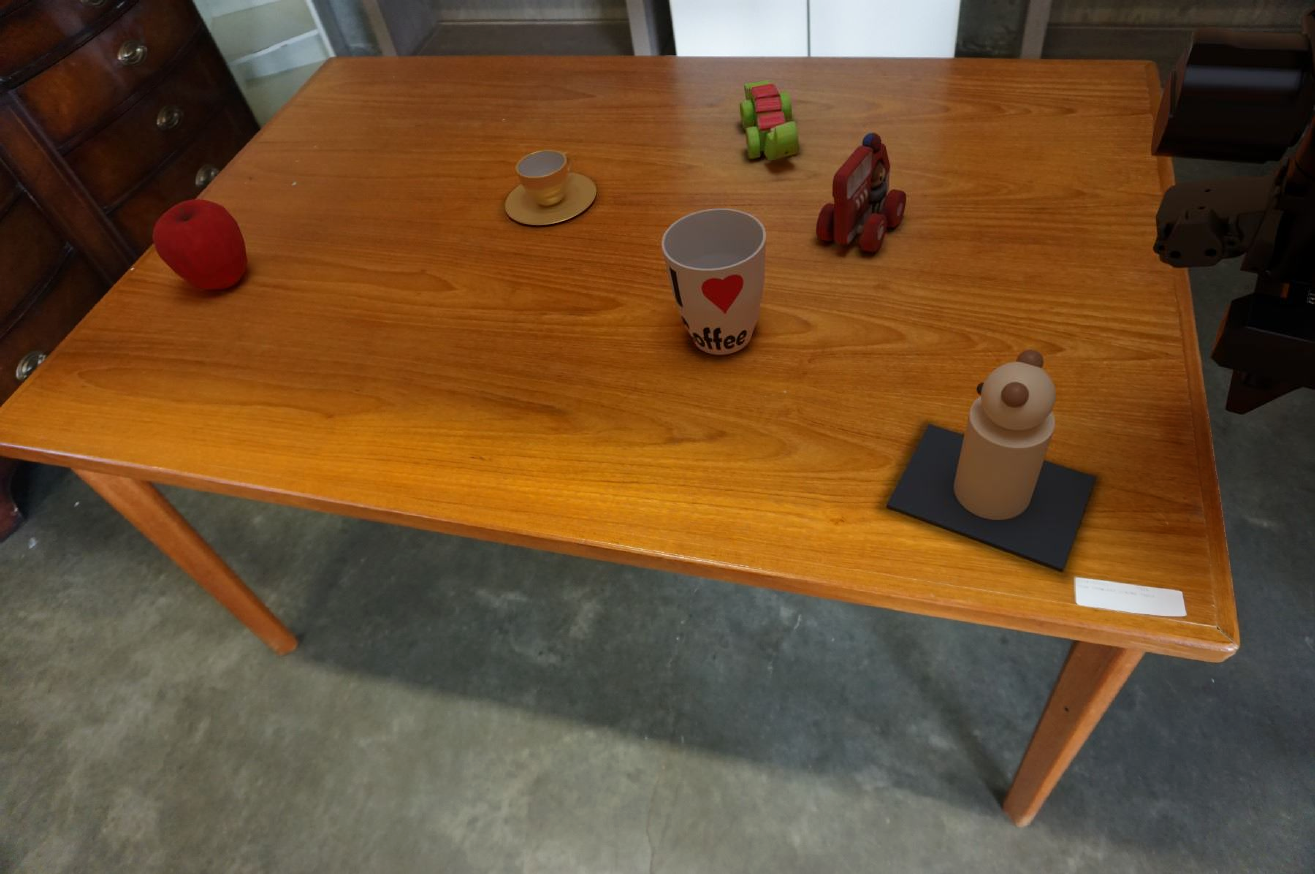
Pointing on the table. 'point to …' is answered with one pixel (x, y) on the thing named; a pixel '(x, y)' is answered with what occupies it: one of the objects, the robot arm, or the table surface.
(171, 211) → the apple
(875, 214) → the toy fire truck
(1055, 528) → the mat
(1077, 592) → the table surface
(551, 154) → the cup
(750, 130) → the toy crocodile
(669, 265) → the cup
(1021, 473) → the bear
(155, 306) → the table surface
